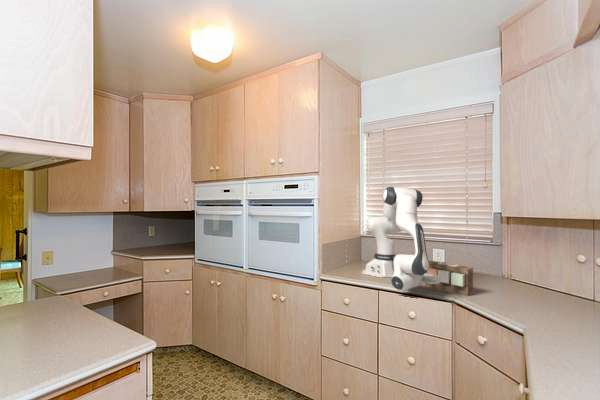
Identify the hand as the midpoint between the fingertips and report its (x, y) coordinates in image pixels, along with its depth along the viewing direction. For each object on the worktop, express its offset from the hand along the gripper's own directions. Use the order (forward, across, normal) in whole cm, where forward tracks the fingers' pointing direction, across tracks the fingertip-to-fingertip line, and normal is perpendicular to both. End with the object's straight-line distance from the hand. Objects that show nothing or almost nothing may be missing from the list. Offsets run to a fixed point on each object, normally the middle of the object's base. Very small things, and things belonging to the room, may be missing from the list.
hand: (428, 274), depth 175 cm
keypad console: (+8, -7, +8) cm, 14 cm away
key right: (+5, -15, +3) cm, 16 cm away
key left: (+6, 0, +3) cm, 7 cm away
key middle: (+5, -7, +3) cm, 9 cm away
